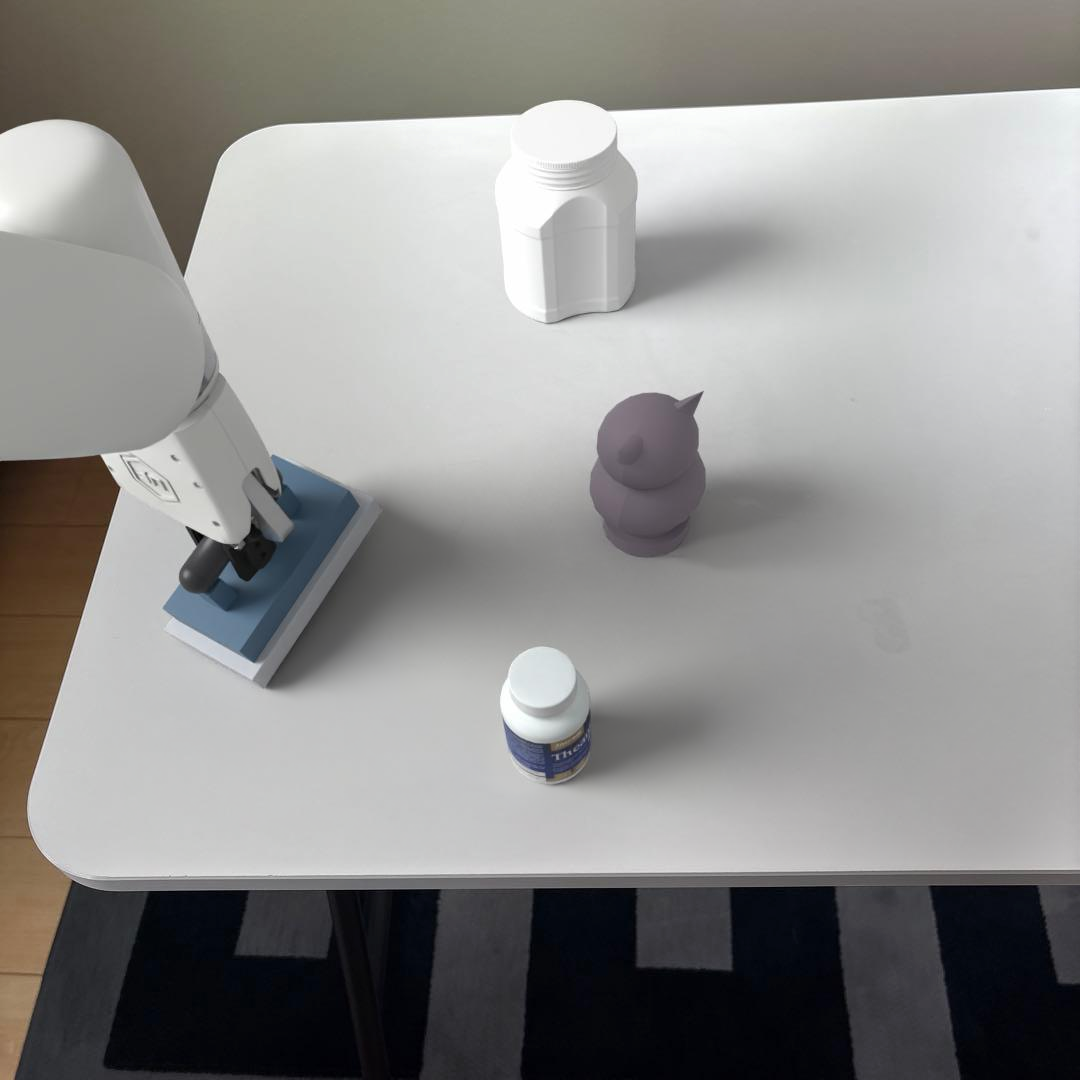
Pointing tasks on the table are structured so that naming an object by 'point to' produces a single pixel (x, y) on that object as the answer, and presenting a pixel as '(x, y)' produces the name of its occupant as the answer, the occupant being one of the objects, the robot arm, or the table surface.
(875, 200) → the table surface
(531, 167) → the jar
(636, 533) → the mauve rounded figurine
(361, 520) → the scrub brush
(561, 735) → the pill bottle
